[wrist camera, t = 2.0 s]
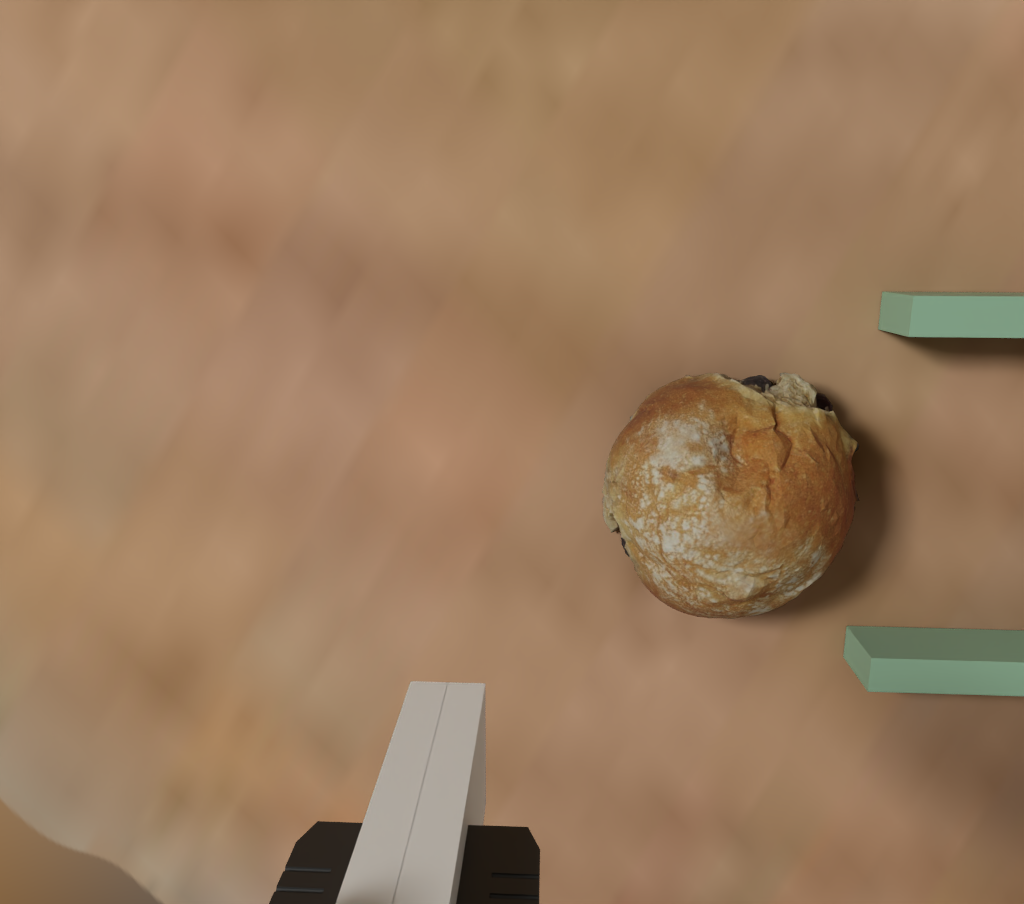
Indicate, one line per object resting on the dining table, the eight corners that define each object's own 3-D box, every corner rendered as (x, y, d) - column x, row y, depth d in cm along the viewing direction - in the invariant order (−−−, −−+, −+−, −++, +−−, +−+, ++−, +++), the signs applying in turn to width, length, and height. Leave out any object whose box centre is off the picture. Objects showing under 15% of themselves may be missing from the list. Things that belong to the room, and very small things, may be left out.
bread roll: (590, 407, 39) (522, 488, 33) (793, 302, 33) (759, 376, 27) (699, 576, 41) (655, 685, 34) (911, 504, 35) (906, 619, 28)
